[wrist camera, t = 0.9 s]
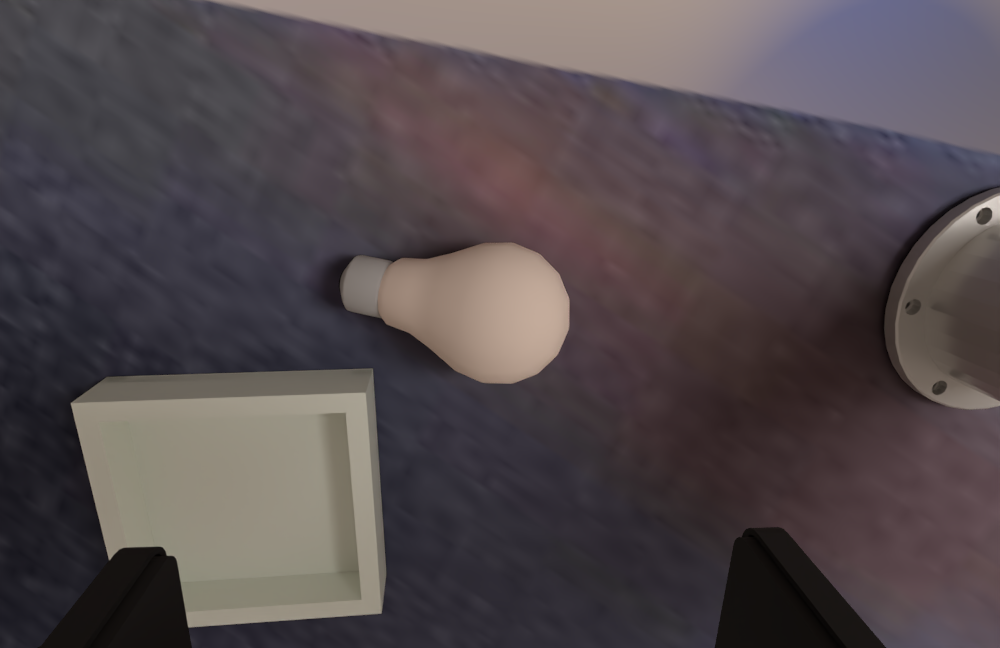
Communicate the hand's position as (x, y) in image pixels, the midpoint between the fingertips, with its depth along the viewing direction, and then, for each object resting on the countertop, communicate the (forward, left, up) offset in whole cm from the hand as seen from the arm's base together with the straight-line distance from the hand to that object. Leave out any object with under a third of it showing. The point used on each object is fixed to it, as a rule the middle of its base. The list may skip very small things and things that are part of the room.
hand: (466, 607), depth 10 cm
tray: (+11, +10, -21) cm, 25 cm away
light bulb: (0, 0, -21) cm, 21 cm away
